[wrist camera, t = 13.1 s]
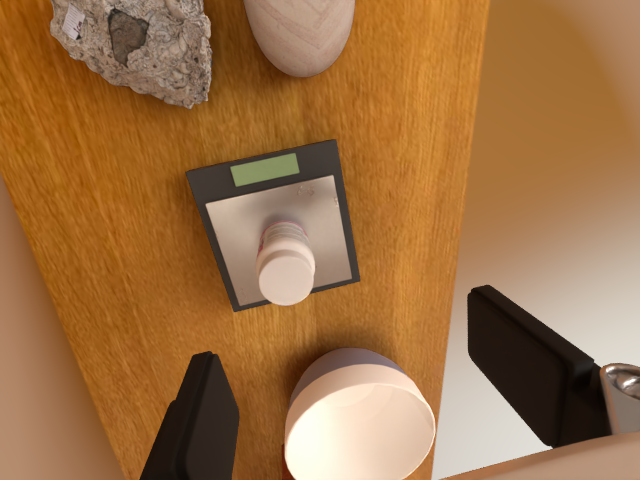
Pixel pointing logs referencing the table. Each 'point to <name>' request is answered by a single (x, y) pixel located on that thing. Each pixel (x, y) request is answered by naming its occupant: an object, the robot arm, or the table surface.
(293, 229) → the pill bottle
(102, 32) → the mineral specimen
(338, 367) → the bowl
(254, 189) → the scale
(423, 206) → the table surface
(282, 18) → the decorative stone
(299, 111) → the table surface
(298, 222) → the scale pan
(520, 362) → the robot arm
